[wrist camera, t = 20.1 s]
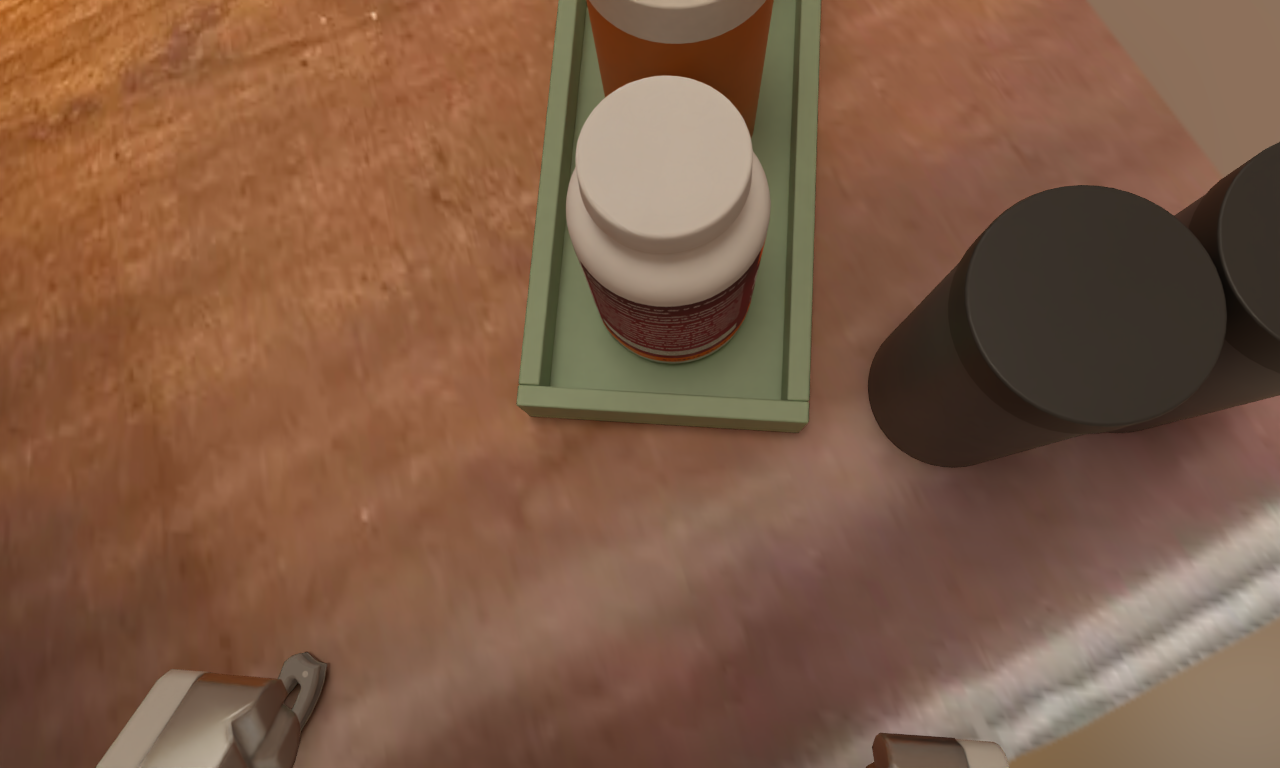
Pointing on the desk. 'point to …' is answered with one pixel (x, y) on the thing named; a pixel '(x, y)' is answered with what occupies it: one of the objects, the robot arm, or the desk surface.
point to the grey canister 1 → (1052, 330)
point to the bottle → (685, 44)
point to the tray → (782, 298)
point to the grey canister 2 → (1240, 286)
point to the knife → (304, 683)
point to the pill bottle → (668, 216)
